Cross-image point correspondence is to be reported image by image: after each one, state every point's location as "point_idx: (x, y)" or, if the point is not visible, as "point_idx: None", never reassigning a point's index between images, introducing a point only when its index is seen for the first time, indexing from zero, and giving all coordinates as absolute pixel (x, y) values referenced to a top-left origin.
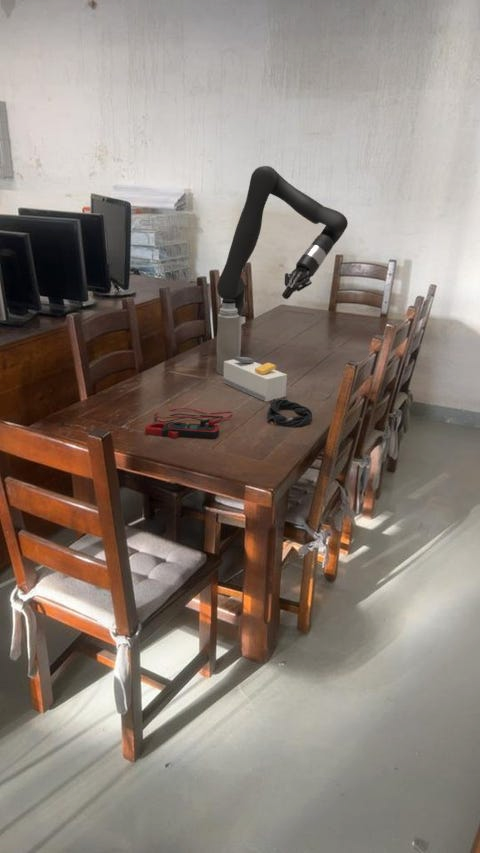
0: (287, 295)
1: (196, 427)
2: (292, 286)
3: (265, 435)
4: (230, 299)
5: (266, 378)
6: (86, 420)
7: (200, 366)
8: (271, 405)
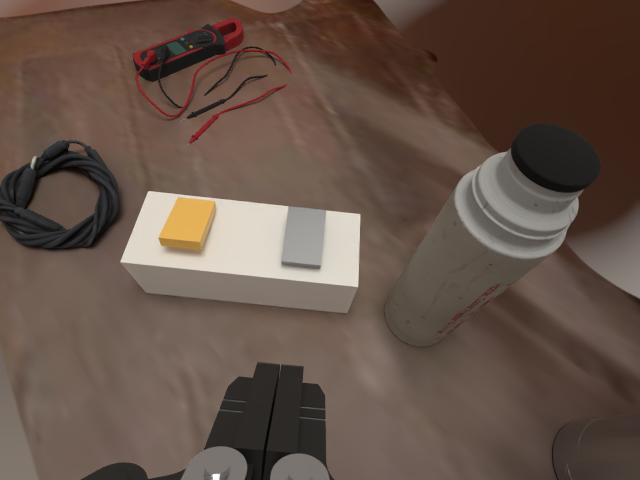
0: (235, 386)
1: (171, 49)
2: (190, 469)
3: (64, 115)
4: (566, 161)
5: (154, 194)
6: (334, 12)
7: (505, 291)
8: (96, 163)
